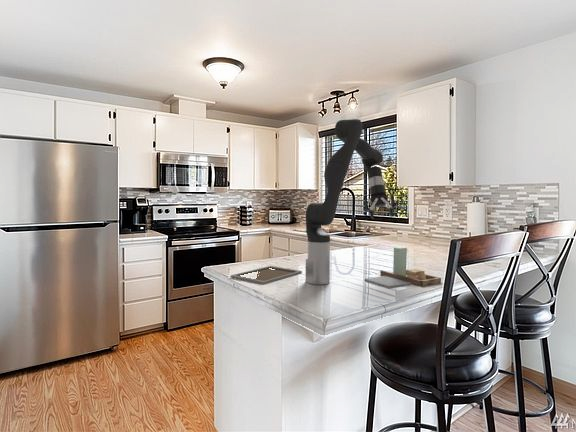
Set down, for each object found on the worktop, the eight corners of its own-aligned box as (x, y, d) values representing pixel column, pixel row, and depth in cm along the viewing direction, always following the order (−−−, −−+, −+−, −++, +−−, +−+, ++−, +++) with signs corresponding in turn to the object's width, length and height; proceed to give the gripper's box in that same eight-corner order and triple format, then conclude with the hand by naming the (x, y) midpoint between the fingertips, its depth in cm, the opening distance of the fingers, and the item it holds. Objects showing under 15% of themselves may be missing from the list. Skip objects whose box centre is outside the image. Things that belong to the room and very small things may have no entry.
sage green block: (398, 277, 158) (398, 248, 157) (393, 276, 161) (393, 247, 160) (406, 276, 161) (406, 247, 160) (401, 274, 163) (401, 246, 162)
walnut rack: (421, 286, 143) (421, 281, 143) (380, 274, 163) (380, 270, 163) (440, 282, 149) (441, 278, 149) (398, 272, 169) (399, 268, 169)
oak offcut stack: (414, 283, 149) (415, 272, 149) (405, 280, 153) (405, 270, 153) (426, 281, 152) (426, 270, 152) (416, 278, 157) (417, 268, 157)
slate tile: (388, 288, 140) (388, 286, 140) (364, 280, 152) (364, 278, 152) (410, 284, 145) (410, 282, 145) (385, 277, 158) (385, 275, 158)
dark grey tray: (230, 275, 155) (273, 264, 179) (230, 278, 155) (273, 268, 179) (263, 282, 144) (305, 269, 168) (263, 285, 144) (305, 273, 168)
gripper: (362, 186, 175) (367, 216, 169) (392, 182, 173) (398, 212, 167) (362, 192, 182) (367, 221, 176) (391, 188, 180) (396, 218, 174)
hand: (382, 217), depth 171 cm, fingers open, 8 cm apart
